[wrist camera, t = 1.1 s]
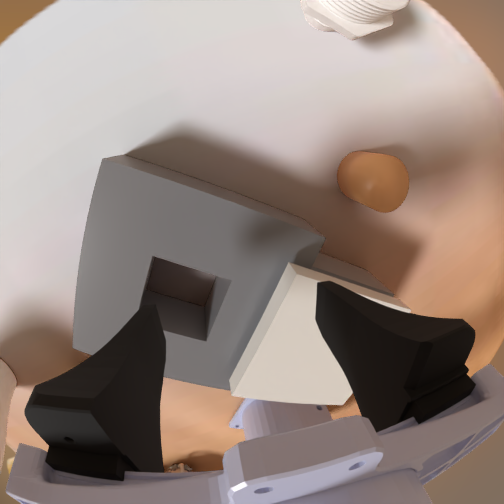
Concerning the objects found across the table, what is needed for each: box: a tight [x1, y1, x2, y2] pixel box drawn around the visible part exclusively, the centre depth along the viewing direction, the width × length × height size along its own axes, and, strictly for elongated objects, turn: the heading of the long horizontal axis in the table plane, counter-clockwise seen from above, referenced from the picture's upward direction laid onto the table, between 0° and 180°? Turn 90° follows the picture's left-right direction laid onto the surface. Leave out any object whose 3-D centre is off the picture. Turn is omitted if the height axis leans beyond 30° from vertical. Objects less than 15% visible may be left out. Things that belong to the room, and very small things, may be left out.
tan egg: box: [337, 151, 409, 213], centre depth 19 cm, size 4×4×4 cm
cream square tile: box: [229, 262, 411, 405], centre depth 19 cm, size 10×10×2 cm
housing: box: [73, 155, 394, 391], centre depth 21 cm, size 22×14×4 cm, turn 67°
